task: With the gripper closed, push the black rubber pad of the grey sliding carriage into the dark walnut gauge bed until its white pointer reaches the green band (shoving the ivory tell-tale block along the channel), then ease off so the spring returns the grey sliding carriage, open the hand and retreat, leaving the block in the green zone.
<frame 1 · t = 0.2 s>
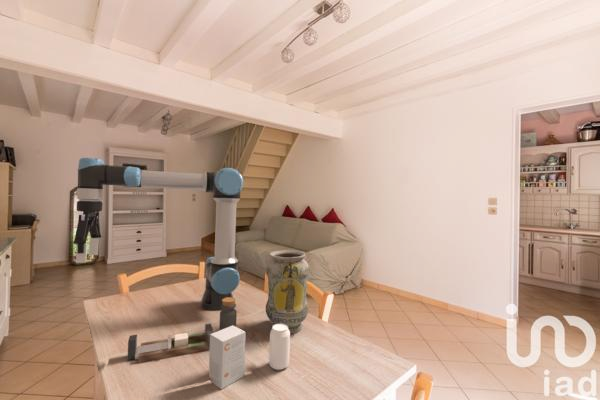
hand: (87, 258, 101), 28 cm above the table, fingers open, 13 cm apart
small box: (226, 378, 79), on the table
telltale: (180, 348, 92), point 1 cm above the table, touching gauge bed
grey sliding carriage: (150, 345, 87), point 4 cm above the table, slide at 0.0 cm
beverage can: (279, 366, 86), on the table
vase: (285, 327, 113), on the table
bottle: (227, 341, 100), on the table
gauge bed: (177, 352, 92), on the table
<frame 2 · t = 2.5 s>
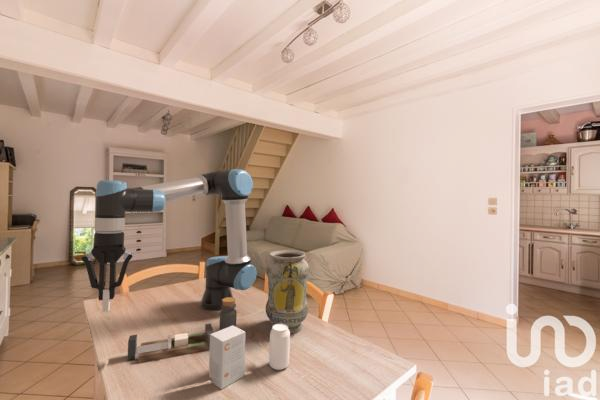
hand: (106, 310, 83), 17 cm above the table, fingers closed
nothing on the table moved.
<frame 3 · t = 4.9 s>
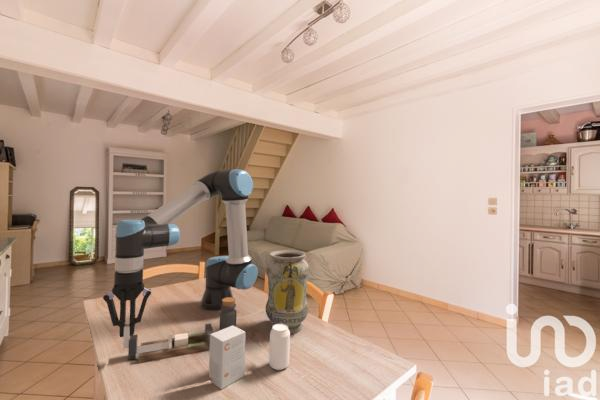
hand: (126, 346, 86), 5 cm above the table, fingers closed
grey sliding carriage: (150, 345, 88), point 4 cm above the table, slide at 0.2 cm, touching gripper
everything else where it was.
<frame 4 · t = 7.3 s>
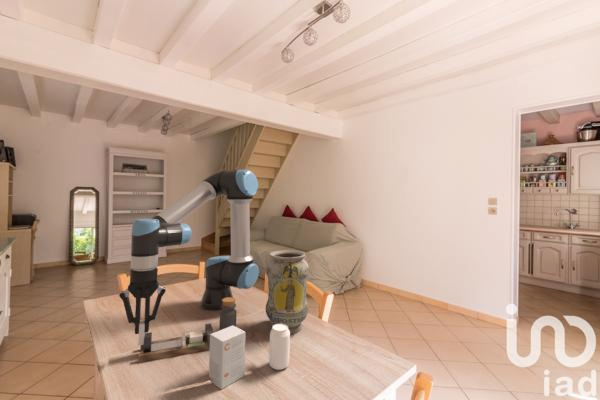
hand: (141, 342, 87), 5 cm above the table, fingers closed
telltale: (195, 345, 94), point 1 cm above the table, touching gauge bed
grey sliding carriage: (165, 343, 89), point 4 cm above the table, slide at 4.2 cm, touching gripper
everything else where it was.
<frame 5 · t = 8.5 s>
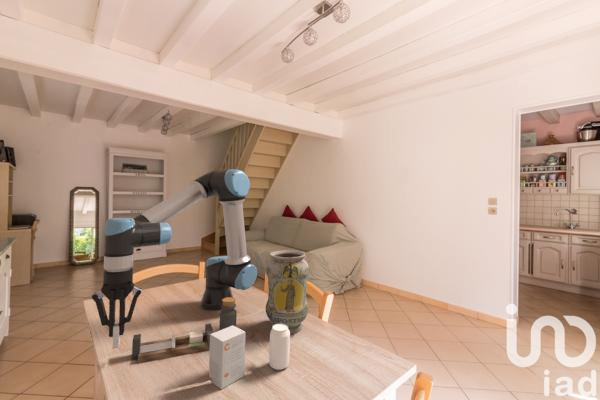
hand: (116, 345, 85), 5 cm above the table, fingers closed
grey sliding carriage: (154, 345, 88), point 4 cm above the table, slide at 1.1 cm
everything else where it was.
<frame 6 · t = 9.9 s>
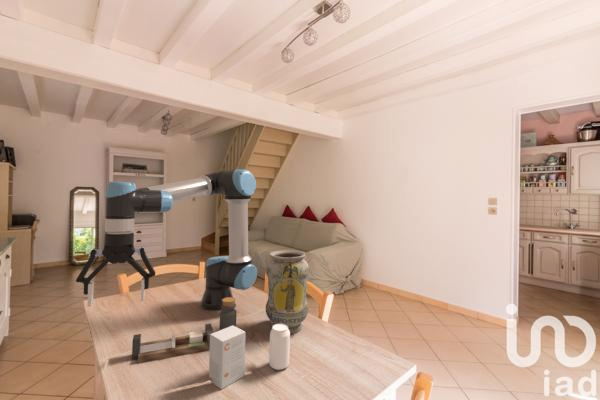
hand: (117, 302, 85), 19 cm above the table, fingers open, 13 cm apart
nothing on the table moved.
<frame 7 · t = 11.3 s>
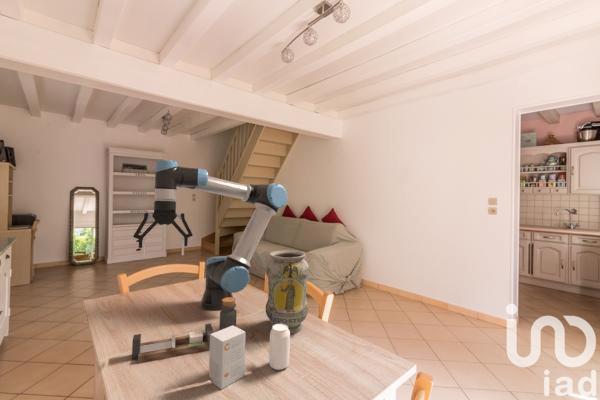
hand: (163, 255, 106), 29 cm above the table, fingers open, 13 cm apart
nothing on the table moved.
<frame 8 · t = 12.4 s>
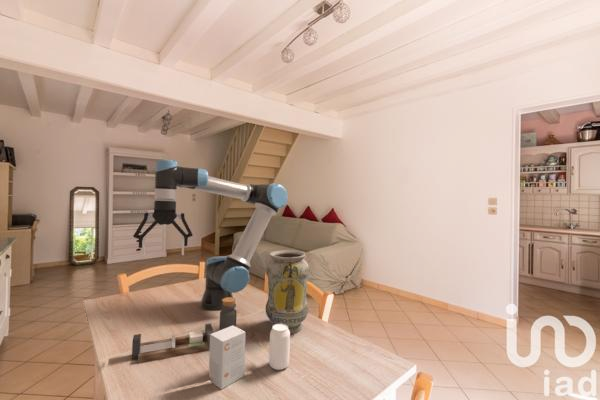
hand: (163, 255, 106), 29 cm above the table, fingers open, 13 cm apart
nothing on the table moved.
at the end: telltale 0.2 cm from the target spot on the gauge bed, point 1.0 cm above the gauge bed's base; grey sliding carriage slide at 1.1 cm; telltale touching gauge bed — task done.
